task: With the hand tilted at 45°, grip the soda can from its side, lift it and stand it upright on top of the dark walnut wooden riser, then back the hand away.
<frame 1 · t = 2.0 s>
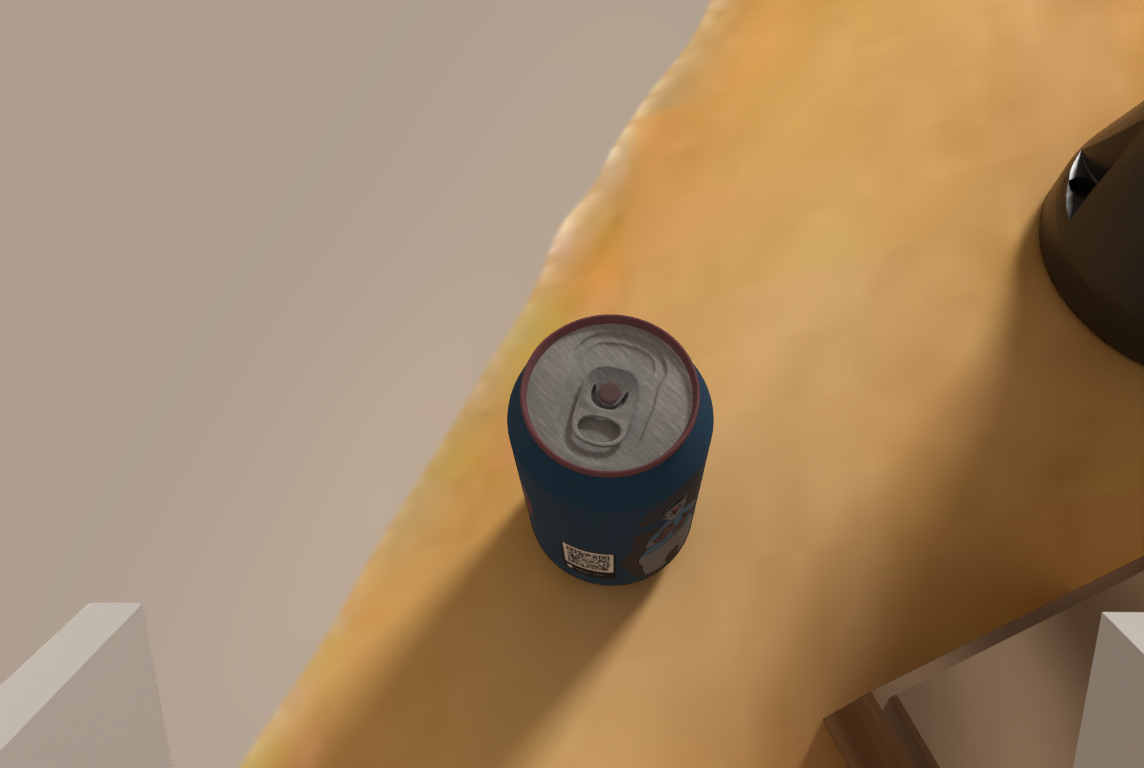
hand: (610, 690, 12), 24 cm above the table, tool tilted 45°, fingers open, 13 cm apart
soda can: (611, 516, 38), on the table
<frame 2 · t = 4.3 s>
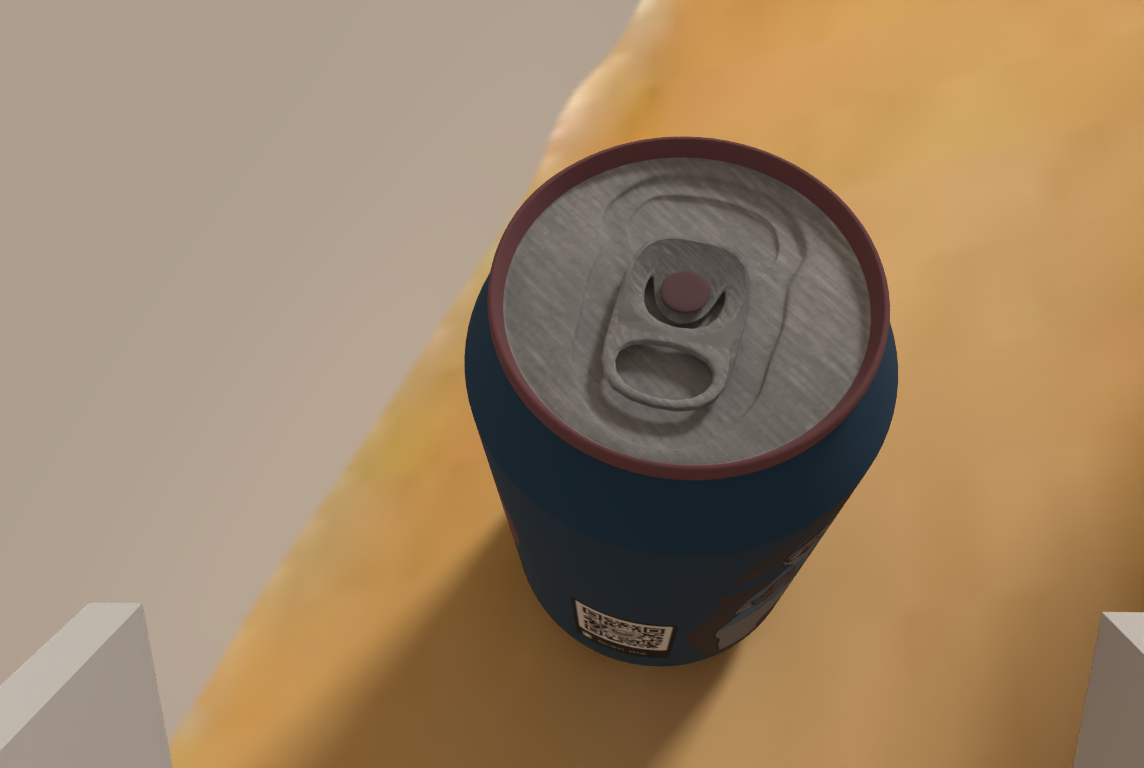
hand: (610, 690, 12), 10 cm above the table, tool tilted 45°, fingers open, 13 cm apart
soda can: (652, 541, 23), on the table
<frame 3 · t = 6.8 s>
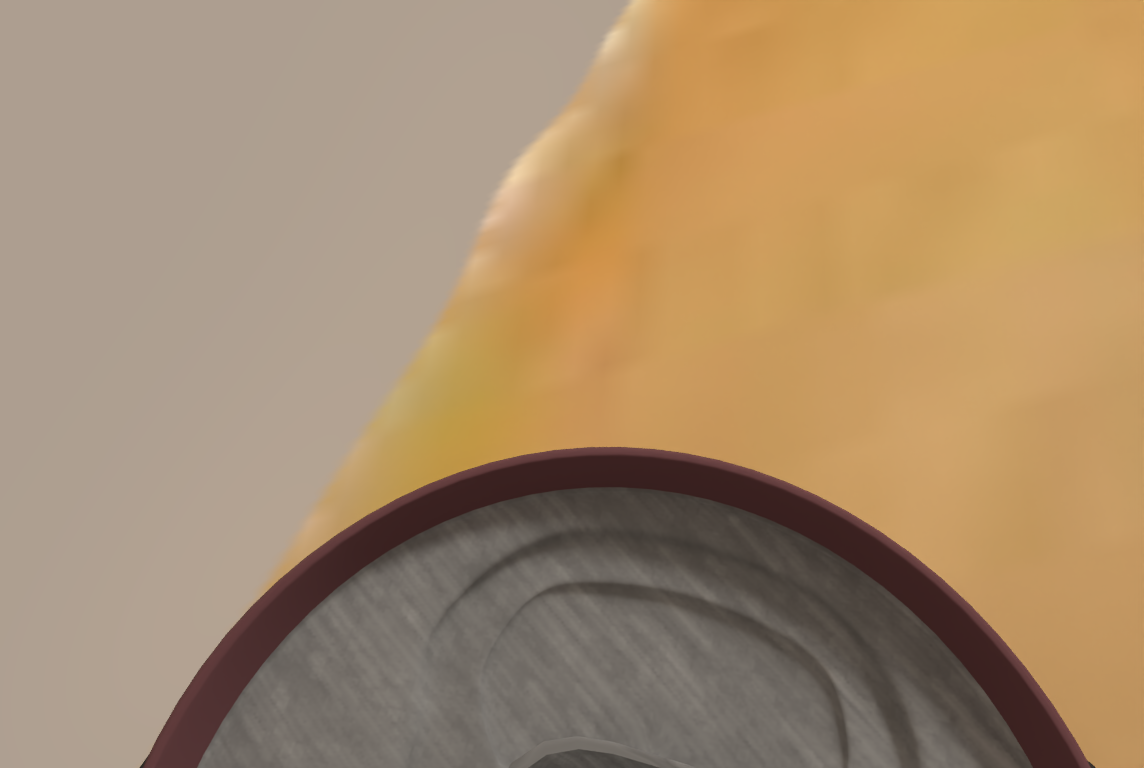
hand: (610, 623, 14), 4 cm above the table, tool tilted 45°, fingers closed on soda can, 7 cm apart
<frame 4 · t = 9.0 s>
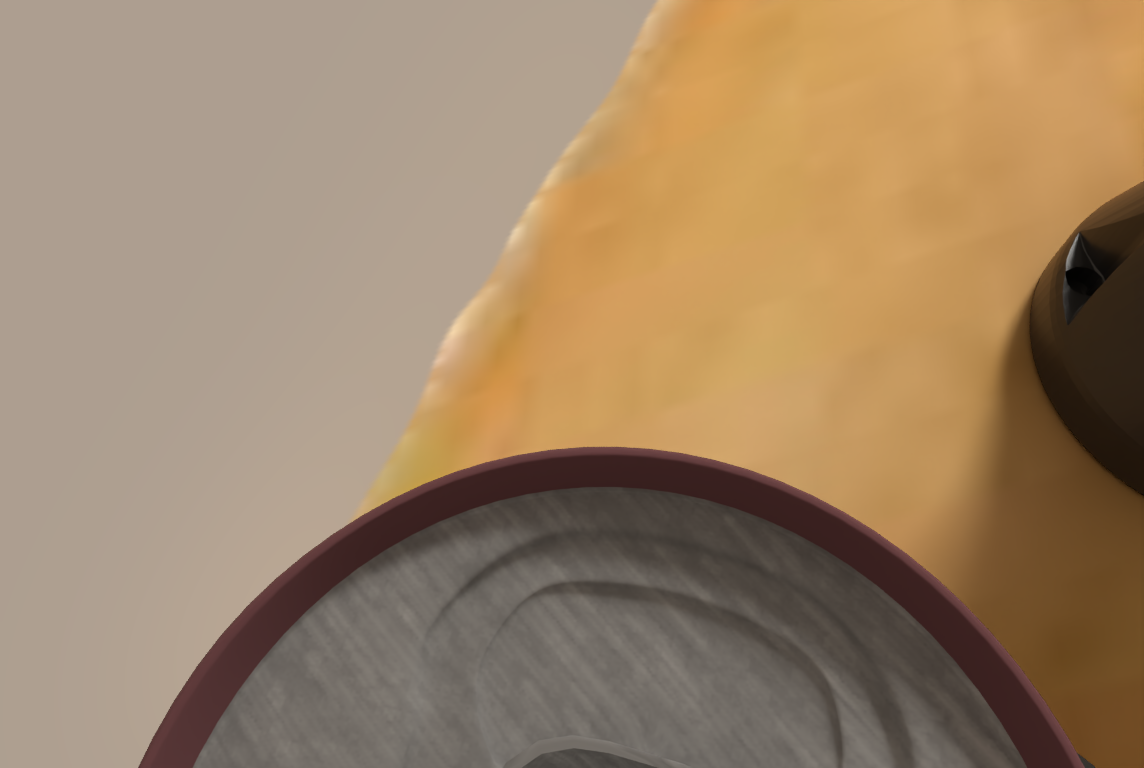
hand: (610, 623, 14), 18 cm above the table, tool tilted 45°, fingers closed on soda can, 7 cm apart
when the fingers open (13 cm above the table, at t = 11.2 s): soda can drops 1 cm, resting on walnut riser.
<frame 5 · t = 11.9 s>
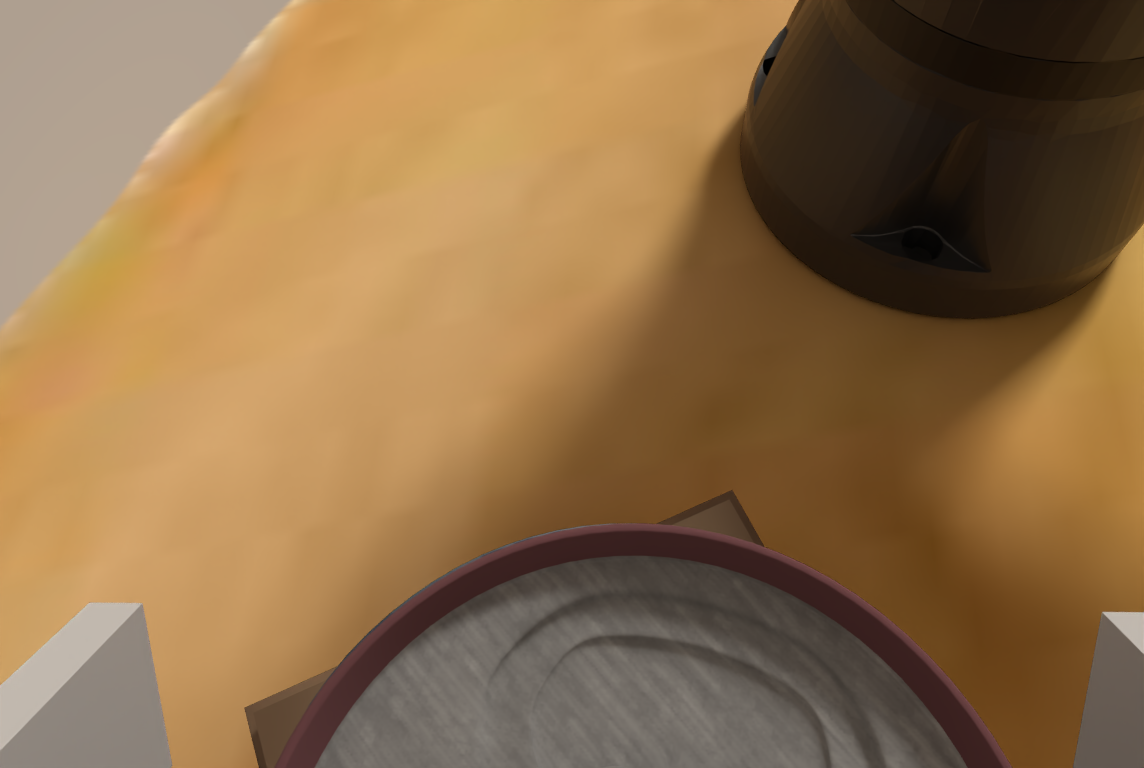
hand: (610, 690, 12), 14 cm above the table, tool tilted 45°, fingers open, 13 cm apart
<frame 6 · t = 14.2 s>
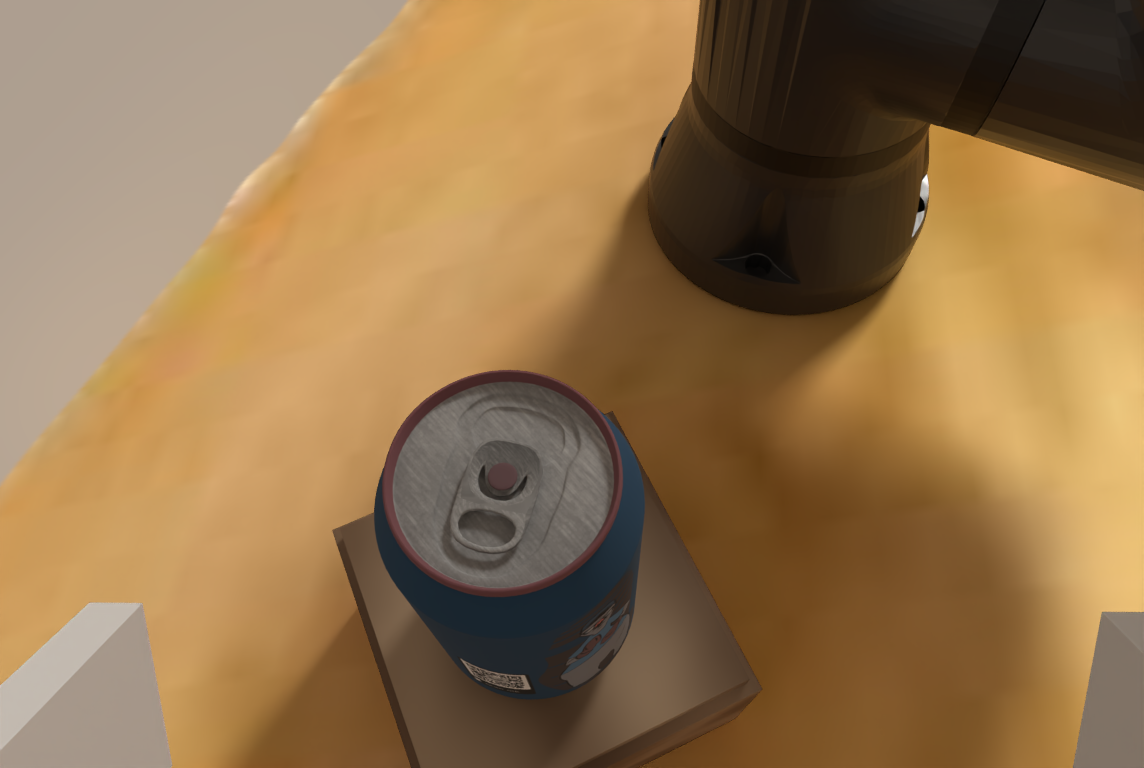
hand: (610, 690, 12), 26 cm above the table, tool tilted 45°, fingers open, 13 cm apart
soda can: (537, 605, 31), point 8 cm above the table, touching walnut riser
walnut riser: (547, 647, 38), on the table
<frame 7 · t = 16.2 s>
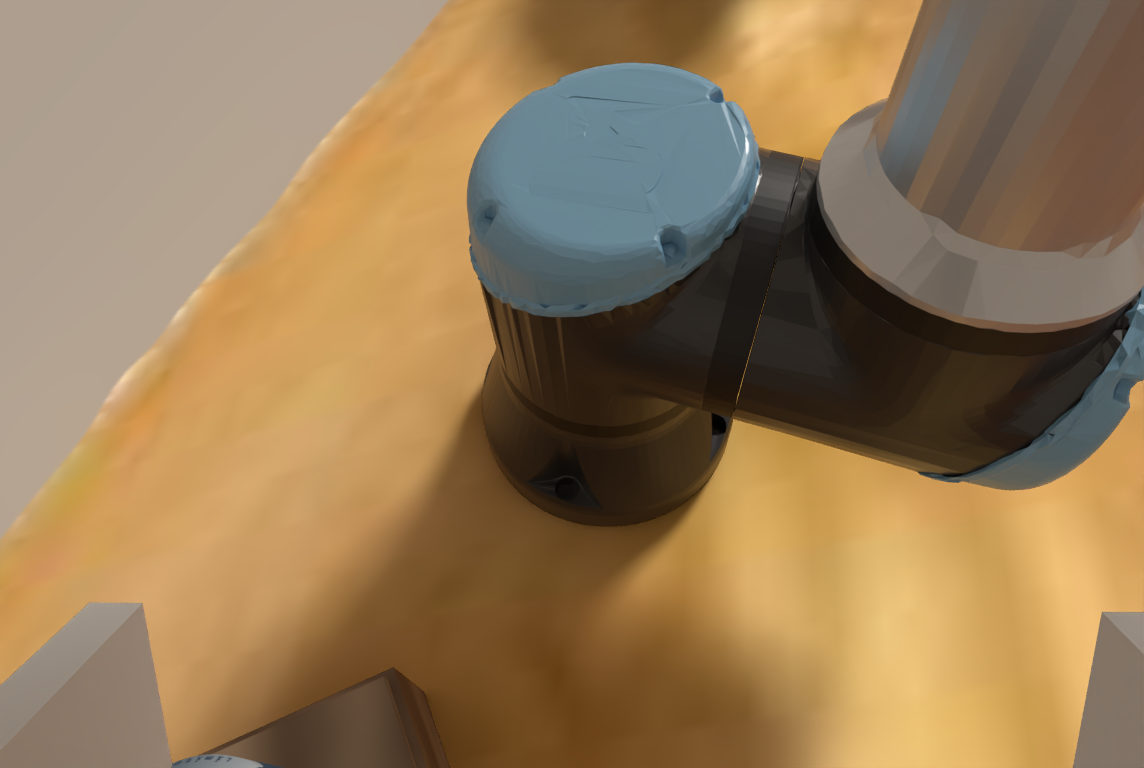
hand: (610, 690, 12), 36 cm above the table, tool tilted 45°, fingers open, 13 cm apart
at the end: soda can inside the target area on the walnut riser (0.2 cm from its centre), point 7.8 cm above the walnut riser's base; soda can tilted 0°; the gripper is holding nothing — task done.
